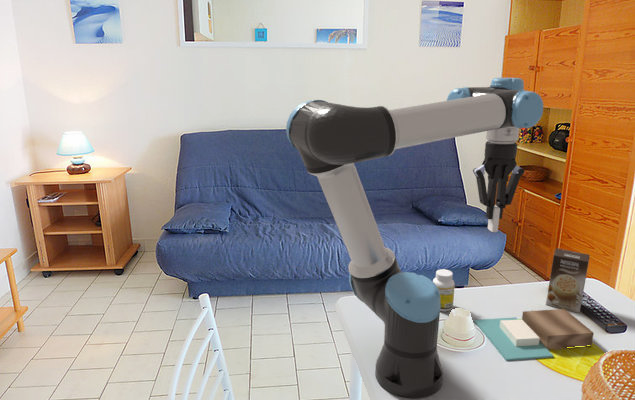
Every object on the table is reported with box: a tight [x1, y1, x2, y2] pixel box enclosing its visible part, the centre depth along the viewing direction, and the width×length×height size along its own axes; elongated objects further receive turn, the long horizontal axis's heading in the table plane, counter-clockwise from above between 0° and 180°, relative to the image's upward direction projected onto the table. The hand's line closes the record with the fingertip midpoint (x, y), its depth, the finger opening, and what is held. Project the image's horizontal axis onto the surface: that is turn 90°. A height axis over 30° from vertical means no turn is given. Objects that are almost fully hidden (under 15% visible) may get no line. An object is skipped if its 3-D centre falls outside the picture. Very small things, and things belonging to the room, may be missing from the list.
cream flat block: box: [500, 318, 540, 346], centre depth 123 cm, size 6×9×2 cm, turn 5°
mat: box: [474, 317, 554, 362], centre depth 123 cm, size 12×18×1 cm, turn 6°
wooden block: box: [521, 308, 595, 351], centre depth 124 cm, size 12×12×4 cm
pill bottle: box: [432, 268, 456, 312], centre depth 137 cm, size 6×6×11 cm
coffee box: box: [545, 248, 590, 314], centre depth 137 cm, size 9×6×16 cm
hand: (492, 230), depth 125 cm, fingers closed
